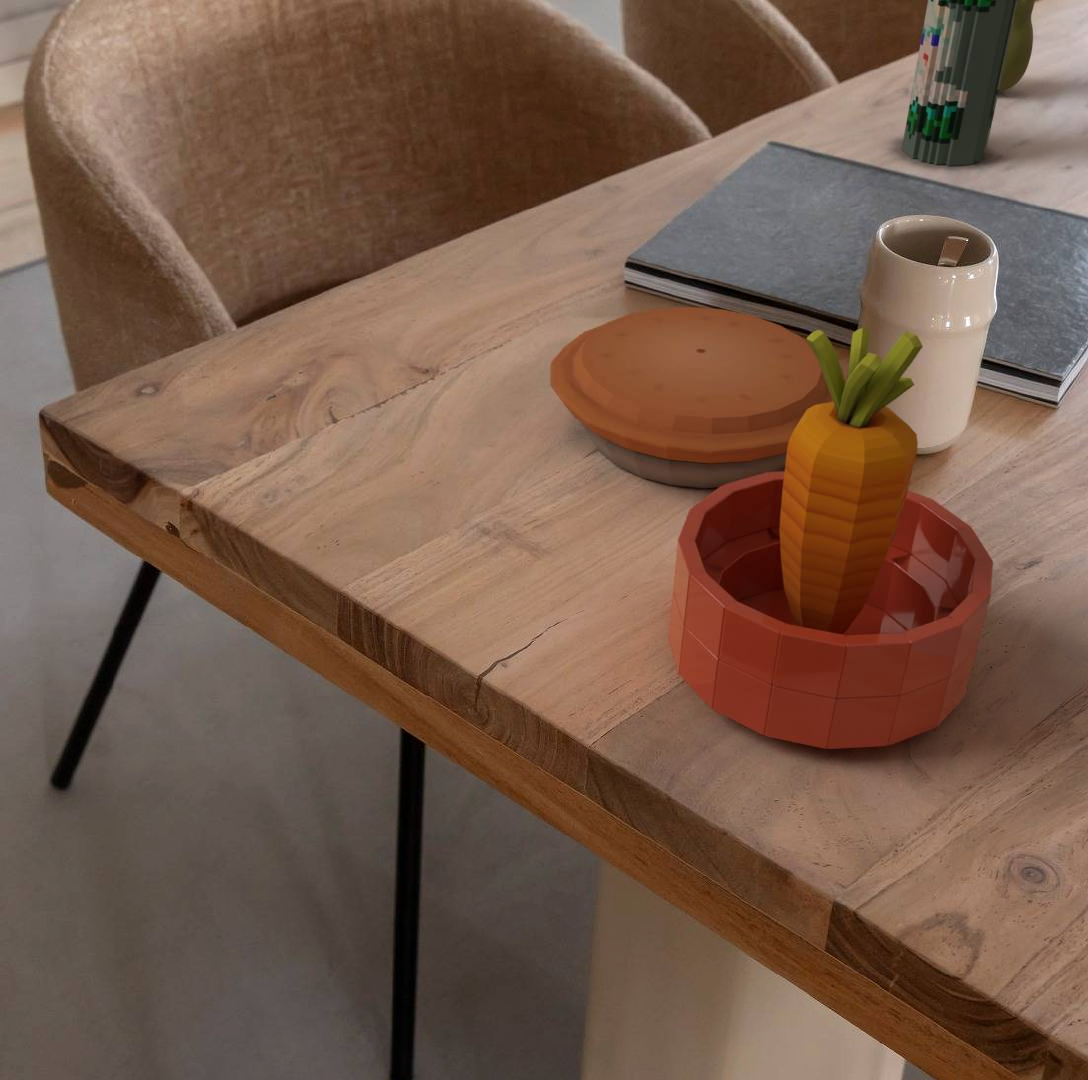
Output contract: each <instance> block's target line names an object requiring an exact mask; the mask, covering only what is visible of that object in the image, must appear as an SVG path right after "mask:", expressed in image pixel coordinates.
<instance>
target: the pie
mask: <svg viewBox="0 0 1088 1080" xmlns="http://www.w3.org/2000/svg"><path fill="white" fill-rule="evenodd" d="M840 368H841V372H842V376H843V380H844V384H846V382H847V380H846V378H845V374H844V370H843V367H842V366H840ZM549 373H550V377H549V378H550V380H549V381H550V382H549V383H550V387H551V389H552V390H553V391H554V393H555V394H556V396H558V398H559V400H560V402H562V403H563V405H564V407H565V408H566V409H567V410H568V411H569V412H570V413H571V415H572V416H573V417H574V418H575V419H576V420H577V421H579V422H580V423H581V425H582V427H583V428H584V430H585V431H586V433H587V435H588V436H589V438H590V440H591V441H592V442H593V444H594V446H595V447H596V449H597V450H598V452H599V453H600V454H601V455H602V456H603V457H605V458H607V459H608V460H609V461H610V462H612V463H613V464H614V465H616V467H618V468H620V469H623V470H625V471H627V472H629V473H631V474H634V475H635V476H638V477H639V478H643V479H647V480H649V481H654V482H658V483H661V484H666V485H670V486H676V487H688V488H696V489H712V488H713V489H714V488H719V487H721V486H723V485H724V484H728V483H731V482H735V481H738V480H742V479H745V478H749V477H752V476H756V475H759V474H763V473H766V472H779V471H783V469H785V464H786V455H787V447H788V443H789V440H790V437H791V435H792V433H793V431H794V429H795V428H796V426H797V424H798V423H799V421H800V420H801V418H802V417H803V415H804V413H805V412H806V410H807V409H809V408H811V407H812V406H814V405H817V404H823V403H828V402H833V399H832V396H831V394H830V391H829V388H828V386H827V383H826V380H825V378H824V375H823V373H822V370H821V368H820V365H819V362H818V360H817V357H816V356H815V354H814V352H813V350H812V348H811V347H810V345H809V343H808V341H807V339H806V338H804V337H802V336H800V334H797V333H795V332H792V331H791V330H789V329H787V328H785V327H784V326H782V325H780V324H777V323H774V322H771V321H770V320H766V319H763V318H760V317H758V316H755V315H752V314H751V315H750V314H747V313H741V312H737V311H731V310H727V309H722V308H721V309H720V308H711V307H710V308H709V307H708V308H707V307H695V306H682V307H680V306H679V307H661V308H654V309H649V310H643V311H637V312H633V313H629V314H626V315H624V316H621V317H618V318H615V319H613V320H610V321H607V322H606V323H604V324H601V325H599V326H596V327H594V328H591V329H589V330H585V331H583V332H582V333H581V334H579V335H578V336H577V337H575V338H573V339H572V340H571V341H570V342H568V343H567V344H566V345H565V346H563V347H562V348H561V350H560V351H559V352H558V354H556V356H555V357H554V358H553V359H552V361H551V362H550V372H549Z"/></svg>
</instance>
